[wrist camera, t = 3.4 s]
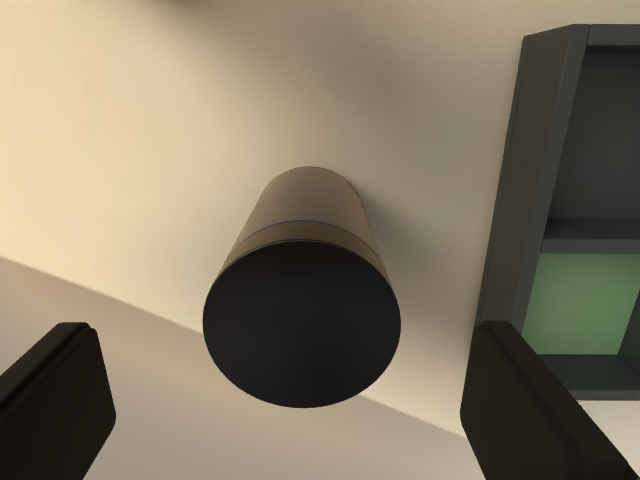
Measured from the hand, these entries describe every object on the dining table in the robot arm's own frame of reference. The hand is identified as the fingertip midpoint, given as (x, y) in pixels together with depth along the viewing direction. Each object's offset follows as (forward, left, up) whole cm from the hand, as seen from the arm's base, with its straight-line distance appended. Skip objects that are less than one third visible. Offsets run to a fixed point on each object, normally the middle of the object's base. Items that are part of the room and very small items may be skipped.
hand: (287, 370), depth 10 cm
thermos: (0, 0, -11) cm, 11 cm away
